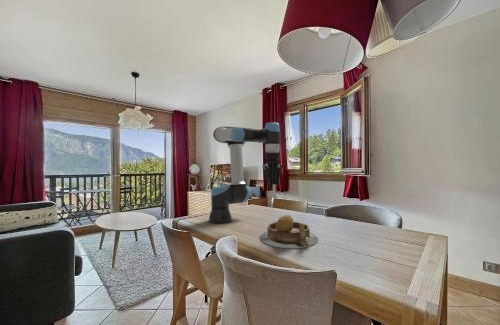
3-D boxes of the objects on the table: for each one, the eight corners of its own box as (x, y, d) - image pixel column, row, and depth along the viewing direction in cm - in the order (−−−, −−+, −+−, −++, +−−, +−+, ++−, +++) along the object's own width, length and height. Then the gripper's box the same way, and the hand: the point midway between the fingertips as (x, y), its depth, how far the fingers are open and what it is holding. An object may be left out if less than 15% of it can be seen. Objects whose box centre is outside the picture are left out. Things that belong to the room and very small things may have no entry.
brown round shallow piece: (261, 231, 123) (261, 214, 123) (295, 227, 130) (295, 211, 130) (283, 247, 99) (282, 226, 99) (323, 241, 106) (323, 222, 106)
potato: (285, 239, 104) (271, 228, 106) (286, 236, 117) (273, 227, 119) (297, 221, 104) (283, 210, 107) (297, 221, 118) (284, 211, 120)
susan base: (252, 244, 108) (252, 236, 108) (268, 228, 135) (268, 221, 135) (316, 251, 98) (316, 242, 98) (319, 231, 125) (319, 225, 125)
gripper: (268, 151, 114) (268, 198, 115) (286, 152, 122) (286, 196, 123) (258, 152, 120) (258, 197, 121) (276, 152, 128) (276, 194, 129)
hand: (272, 196), depth 122 cm, fingers closed
